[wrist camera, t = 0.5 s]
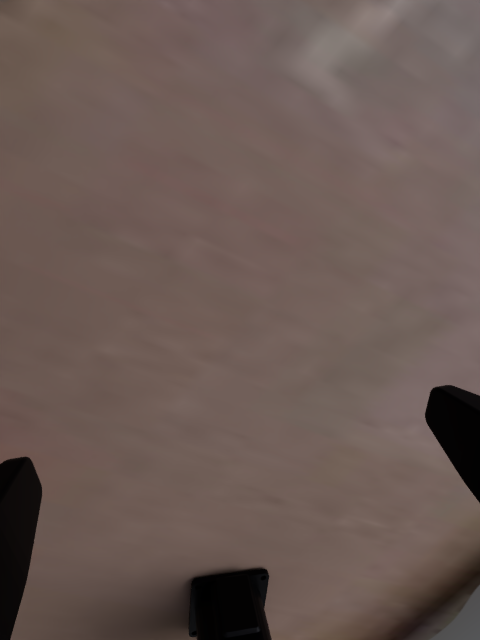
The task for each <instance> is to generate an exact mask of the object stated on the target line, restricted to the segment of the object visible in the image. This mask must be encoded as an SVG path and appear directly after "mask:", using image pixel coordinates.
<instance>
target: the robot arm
mask: <svg viewBox="0 0 480 640" xmlns="http://www.w3.org/2000/svg"><path fill="white" fill-rule="evenodd" d="M425 418H426V422H427V424H428V426H429V427H430V429H431V431H432V432H433V434H434V435H435V437H436V439H437V440H438V442H439V443H440V445H441V447H442V448H443V450H444V451H445V453H446V454H447V456H448V458H449V459H450V461H451V462H452V464H453V466H454V467H455V469H456V470H457V472H458V473H459V475H460V476H461V478H462V479H463V481H464V482H465V484H466V485H467V486H468V488H469V489H470V491H471V492H472V493H473V495H474V496H475V497H476V499H477V500H478V501H479V502H480V396H479V395H476V394H474V393H471V392H468V391H465V390H463V389H460V388H457V387H455V386H452V385H445V386H439V387H435V388H433V389H432V390H431V392H430V396H429V400H428V404H427V408H426V412H425ZM41 499H42V486H41V483H40V480H39V478H38V475H37V473H36V470H35V468H34V465H33V463H32V461H31V459H30V458H28V457H20V458H14V459H9V460H6V461H4V462H3V463H1V464H0V640H10V638H11V635H12V631H13V628H14V624H15V621H16V617H17V614H18V610H19V606H20V603H21V599H22V596H23V592H24V588H25V585H26V581H27V576H28V571H29V566H30V561H31V555H32V550H33V544H34V538H35V533H36V527H37V521H38V516H39V510H40V504H41ZM268 580H269V575H268V571H267V570H266V569H259V570H252V571H245V572H238V573H230V574H223V575H216V576H209V577H202V578H196V579H194V580H193V581H192V583H191V598H190V613H189V636H190V637H197V640H272V639H271V635H270V631H269V627H268V623H267V619H266V615H265V611H264V606H265V599H266V593H267V587H268Z"/></svg>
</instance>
